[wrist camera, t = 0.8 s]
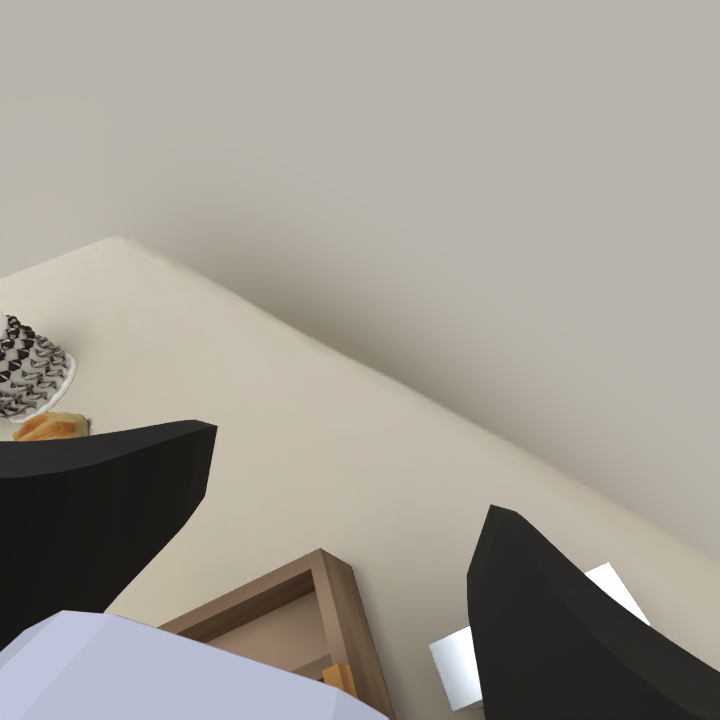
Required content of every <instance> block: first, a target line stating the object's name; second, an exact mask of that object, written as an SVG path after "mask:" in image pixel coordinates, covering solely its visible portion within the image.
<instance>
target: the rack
mask: <svg viewBox="0 0 720 720" xmlns="http://www.w3.org/2000/svg"><path fill="white" fill-rule="evenodd" d="M157 628H158V629H161V630H164V631H167V632H170V633H174V634H177V635H180V636H183V637H186V638H189V639H192V640H195V641H198V642H201V643H204V644H207V645H210V646H213V647H216V648H219V649H222V650H225V651H228V652H231V653H234V654H238V655H241V656H244V657H247V658H250V659H253V660H256V661H259V662H262V663H265V664H268V665H271V666H274V667H277V668H280V669H283V670H286V671H289V672H292V673H295V674H298V675H302V676H305V677H308V678H311V679H314V680H317V681H320V682H323V683H326V684H329V685H332V686H335V687H338V688H340V689H341V690H343V691H345V692H346V693H348V694H350V695H352V696H353V697H355V698H357V699H358V700H360V701H362V702H363V703H365V704H367V705H369V706H370V707H372V708H374V709H375V710H377V711H379V712H380V713H382V714H383V715H385V716H386V717H388V718H389V720H395V717H394V713H393V710H392V706H391V703H390V699H389V696H388V693H387V689H386V686H385V682H384V679H383V675H382V672H381V668H380V665H379V661H378V658H377V654H376V651H375V647H374V644H373V640H372V637H371V634H370V630H369V627H368V623H367V620H366V616H365V613H364V609H363V606H362V602H361V599H360V595H359V592H358V588H357V585H356V582H355V578H354V575H353V571H352V568H351V566H350V565H349V564H347V563H345V562H343V561H342V560H340V559H338V558H337V557H335V556H333V555H331V554H330V553H328V552H326V551H324V550H323V549H321V548H319V549H317V550H315V551H313V552H311V553H309V554H307V555H305V556H303V557H301V558H299V559H297V560H295V561H293V562H291V563H288V564H286V565H284V566H282V567H280V568H278V569H276V570H274V571H272V572H270V573H268V574H266V575H264V576H262V577H260V578H258V579H256V580H254V581H252V582H249V583H247V584H245V585H243V586H241V587H239V588H237V589H235V590H233V591H231V592H229V593H227V594H225V595H223V596H221V597H219V598H217V599H215V600H213V601H211V602H208V603H206V604H204V605H202V606H200V607H198V608H196V609H194V610H192V611H190V612H188V613H186V614H184V615H182V616H180V617H178V618H176V619H174V620H172V621H169V622H167V623H165V624H163V625H161V626H159V627H157Z"/></svg>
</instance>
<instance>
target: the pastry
mask: <svg viewBox="0 0 720 720" xmlns="http://www.w3.org/2000/svg"><path fill="white" fill-rule="evenodd" d="M88 433H89V430H88V424H87V421H86V418H85V417H84V416H83V415H81V414H70V413H67V412H65V413H53V412H45V413H41V414H39V415H36V416H34V417H32V418H30V419H28V420H26V421H25V422H24V423H23V424H22V426H21V428H20V429H19V430H18V431H17V432H15V433H14V435H13V438H14V441H39V440H53V439H66V438H76V437H85V436H88Z"/></svg>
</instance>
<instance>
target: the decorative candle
mask: <svg viewBox="0 0 720 720" xmlns="http://www.w3.org/2000/svg"><path fill="white" fill-rule="evenodd" d="M76 369H77V366H76V359H75V358H73V357H72V356H70V355H69V354H67V353H65V352H64V351H61V348H60V347H59V346H54V345H53V344H52V343H51V342H48V339H47V338H46V337H41V336H40V335H36V336H35V332H34V331H33V330H32V329H31V327H29V326H24V325H21V323H20V322H19V321H18V320H17V318H16V317H15V316H9V315H4V314H3V313H1V312H0V416H1V417H5V418H7V417H8V418H9V420H10V421H11V422H13V423H24V422H25V421H26V420H28V419H30V418H32V417H34V416H36V415H39V414H41V413H45V412H46V411H48V410H49V409H50V408H52V407H53V406H54V404H55V403H56V402H57V401H58V400H59V399H60V398H61V397H62V396H63V395H64V394H65V392H66V390H67V389H68V387H69V386H70V384H71V382H72V381H73V378H74V375H75V372H76Z"/></svg>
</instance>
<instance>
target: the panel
mask: <svg viewBox="0 0 720 720" xmlns="http://www.w3.org/2000/svg"><path fill="white" fill-rule="evenodd" d="M585 575H586V576H587V577H588V578H590V579H591V580H592V581H593V582H594V583H595V584H597V585H598V586H599V587H600V588H601V589H602V590H604V591H605V592H606V593H607V594H608V595H610V596H611V597H612V598H613V599H615V600H616V601H617V602H618V603H620V604H621V605H622V606H623V607H625V608H626V609H627V610H629V611H630V612H632V613H633V614H634V615H636V616H637V617H638V618H640V619H641V620H642V621H644V622H645V623H646V624H648V625H650V623H649V622H648V620H647V619H646V618H645V616H644V615H643V613H642V612H641V610H640V609H639V607H638V606H637V604H636V603H635V601H634V600H633V598H632V597H631V595H630V594H629V592H628V591H627V589H626V588H625V586H624V585H623V583H622V582H621V580H620V579H619V578H618V576H617V575H616V573H615V572H614V570H613V569H612V567H611V566H610V564H609V563H607V564H604V565H602V566H600V567H598V568H596V569H593V570H591V571H589V572H587V573H585ZM429 647H430V650H431V653H432V655H433V658H434V661H435V664H436V666H437V669H438V672H439V675H440V677H441V680H442V683H443V686H444V689H445V691H446V694H447V697H448V700H449V702H450V705H451V708H452V711H453V712H455V711H463V710H471V709H479V708H483V707H484V706H483V700H482V694H481V688H480V682H479V676H478V671H477V665H476V659H475V653H474V647H473V641H472V635H471V629H470V626H469V627H467V628H465V629H462V630H460V631H458V632H456V633H454V634H451V635H449V636H447V637H445V638H443V639H441V640H438V641H436V642H434V643H432V644H430V645H429Z"/></svg>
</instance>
